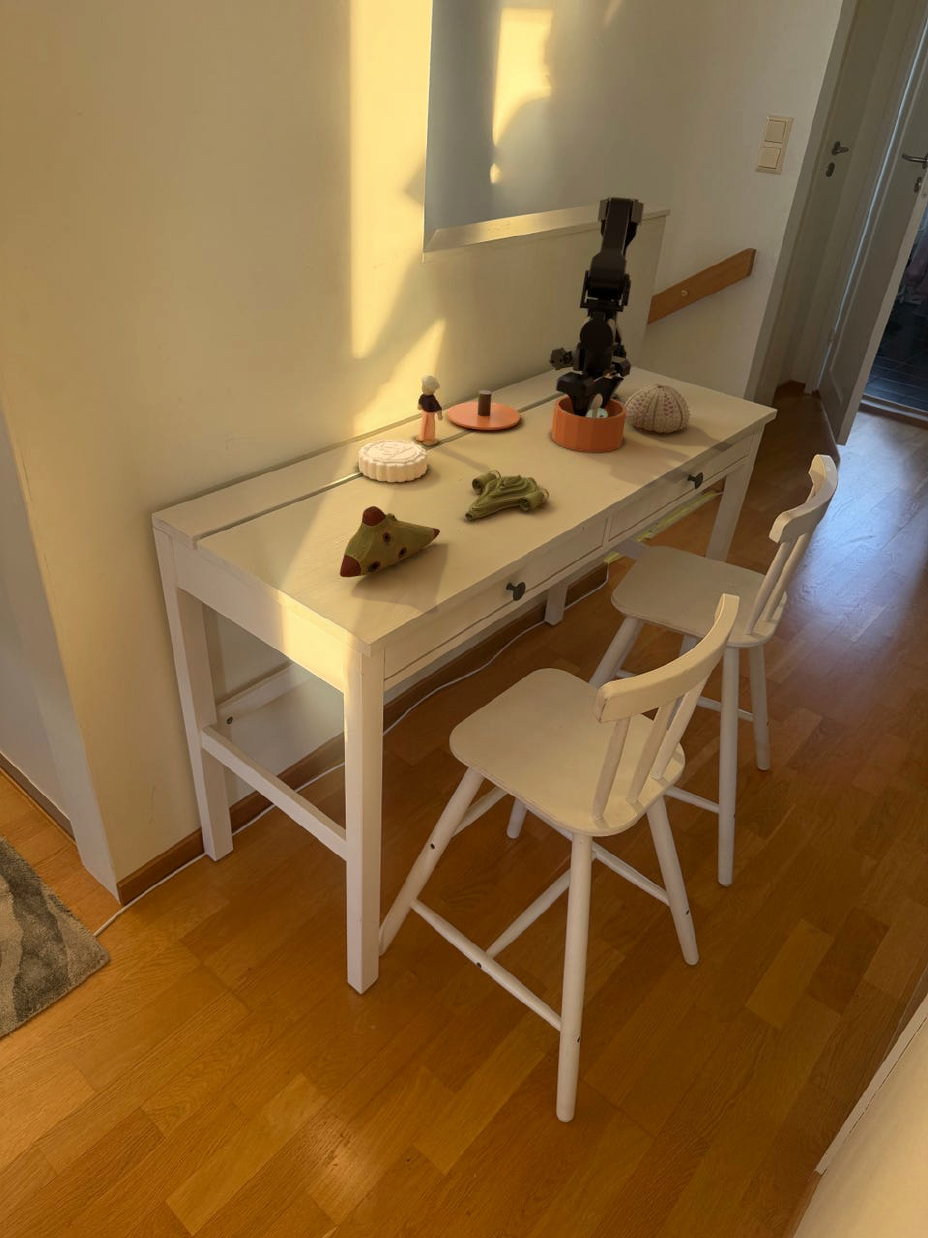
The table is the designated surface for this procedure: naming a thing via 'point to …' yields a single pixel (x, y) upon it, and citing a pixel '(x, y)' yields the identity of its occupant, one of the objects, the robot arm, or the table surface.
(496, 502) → the spaceship toy
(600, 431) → the pot
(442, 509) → the table surface
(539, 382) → the table surface
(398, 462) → the mooncake
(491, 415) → the lid
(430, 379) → the grandmother figurine
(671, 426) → the sea urchin shell
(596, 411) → the pacifier
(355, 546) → the ocarina
